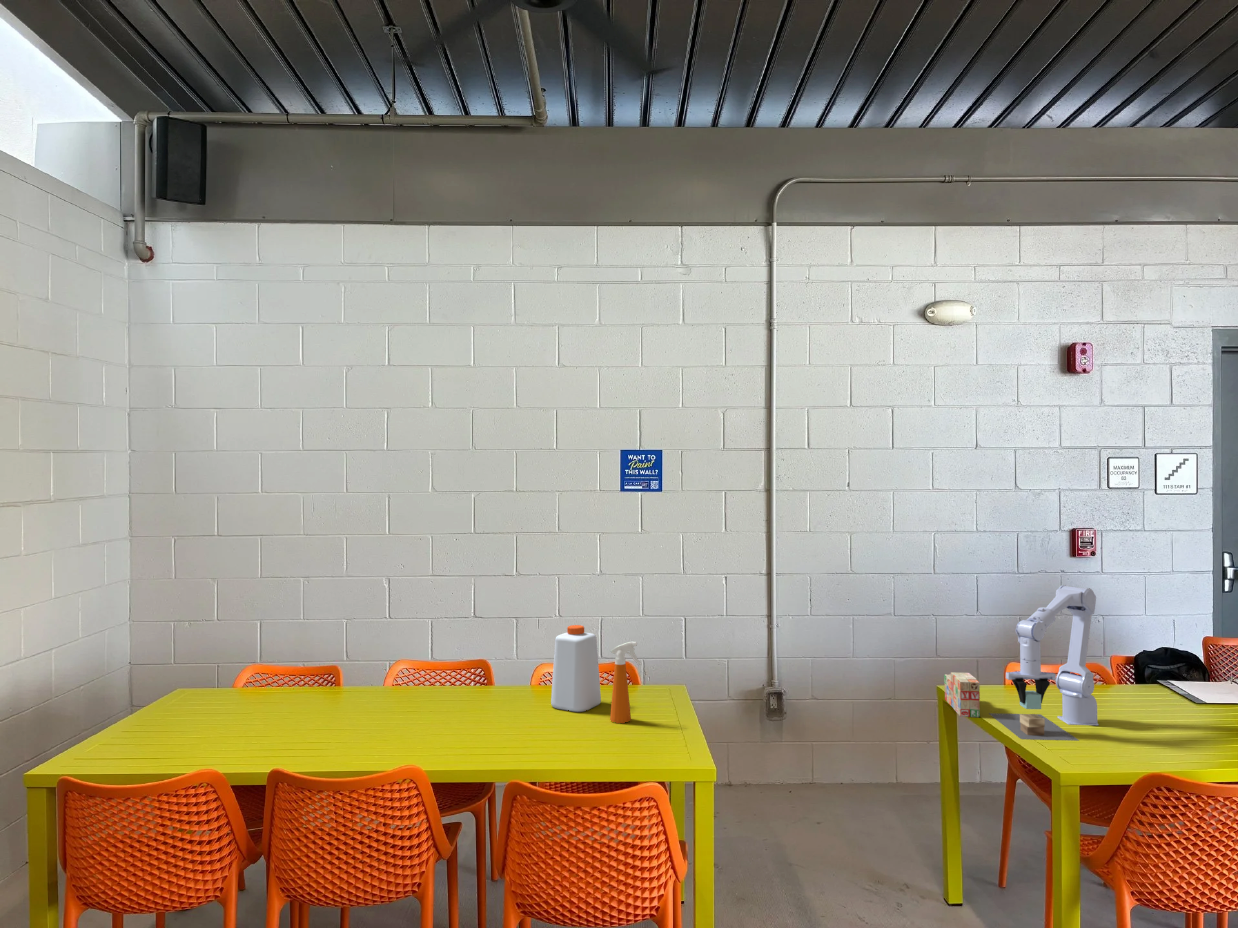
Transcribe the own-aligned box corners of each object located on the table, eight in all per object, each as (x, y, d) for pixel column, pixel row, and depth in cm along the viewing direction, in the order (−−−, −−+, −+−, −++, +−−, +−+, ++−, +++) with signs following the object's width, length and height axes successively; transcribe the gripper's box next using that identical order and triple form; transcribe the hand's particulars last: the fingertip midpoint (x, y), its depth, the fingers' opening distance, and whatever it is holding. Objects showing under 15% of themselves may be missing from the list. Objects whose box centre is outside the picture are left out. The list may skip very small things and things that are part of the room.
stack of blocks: (944, 699, 283) (943, 665, 283) (962, 700, 282) (962, 666, 282) (960, 717, 261) (959, 680, 262) (980, 718, 260) (979, 681, 261)
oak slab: (1035, 721, 248) (1035, 713, 248) (1044, 726, 243) (1044, 718, 243) (1019, 722, 247) (1019, 714, 247) (1029, 727, 242) (1028, 719, 242)
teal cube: (1034, 704, 248) (1034, 690, 248) (1041, 709, 244) (1041, 694, 244) (1019, 704, 249) (1019, 690, 249) (1026, 708, 244) (1026, 694, 244)
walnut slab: (1037, 730, 247) (1036, 722, 247) (1044, 735, 242) (1044, 727, 242) (1020, 729, 248) (1020, 721, 248) (1027, 734, 243) (1027, 726, 243)
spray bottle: (640, 724, 255) (639, 644, 256) (607, 722, 258) (607, 642, 258) (643, 718, 262) (643, 639, 263) (612, 716, 265) (612, 638, 265)
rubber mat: (1040, 715, 263) (1040, 714, 263) (1079, 741, 237) (1079, 740, 237) (988, 714, 265) (988, 713, 265) (1021, 739, 239) (1021, 738, 239)
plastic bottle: (582, 714, 267) (582, 632, 268) (546, 707, 275) (546, 628, 275) (605, 702, 280) (605, 624, 281) (570, 697, 288) (569, 621, 288)
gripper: (1047, 656, 250) (1048, 698, 250) (1001, 655, 250) (1001, 698, 250) (1059, 661, 243) (1059, 705, 243) (1011, 661, 243) (1011, 704, 243)
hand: (1030, 702), depth 246 cm, fingers closed on teal cube, 4 cm apart
